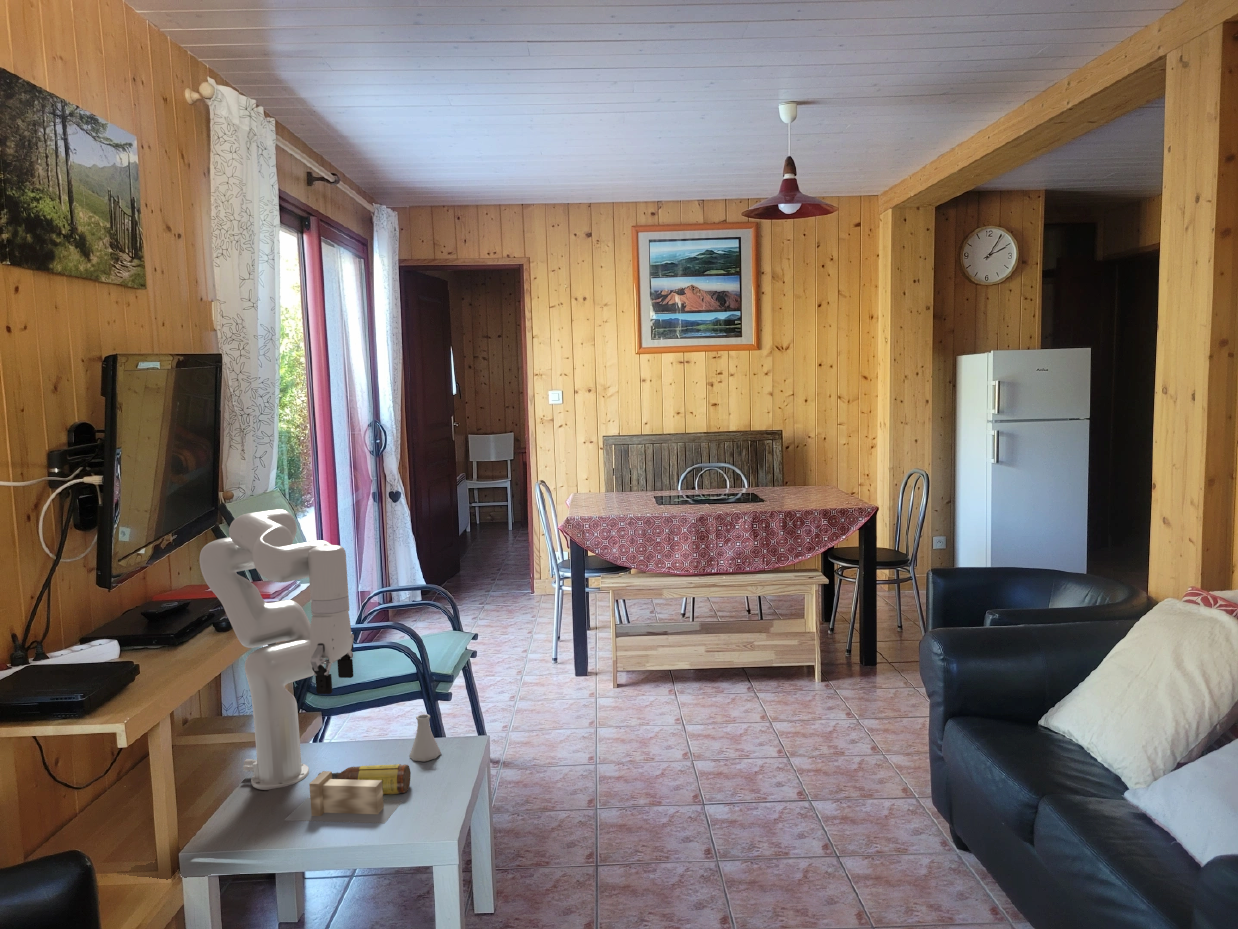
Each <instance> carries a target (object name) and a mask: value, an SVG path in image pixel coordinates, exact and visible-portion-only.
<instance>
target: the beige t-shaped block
mask: <svg viewBox="0 0 1238 929" xmlns="http://www.w3.org/2000/svg"><path fill="white" fill-rule="evenodd" d="M319 773H320V774H319ZM319 773H318V774H319V775H318V774H317V776H316V777H315V778H314V779H313V780H312V781H311V782H310V783H309V784H308V785H309V798H310V800H311V814H312V816H321V815H322V814H323V813H350V814H379V812H380V811H381V810H382V809H383V808H384V805H383V800H384V794H383V790H382V780H349V779H332V773H333V771H330V770H328V771H327V770H326V771H325V770H323V771H322V772H319Z"/></svg>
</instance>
